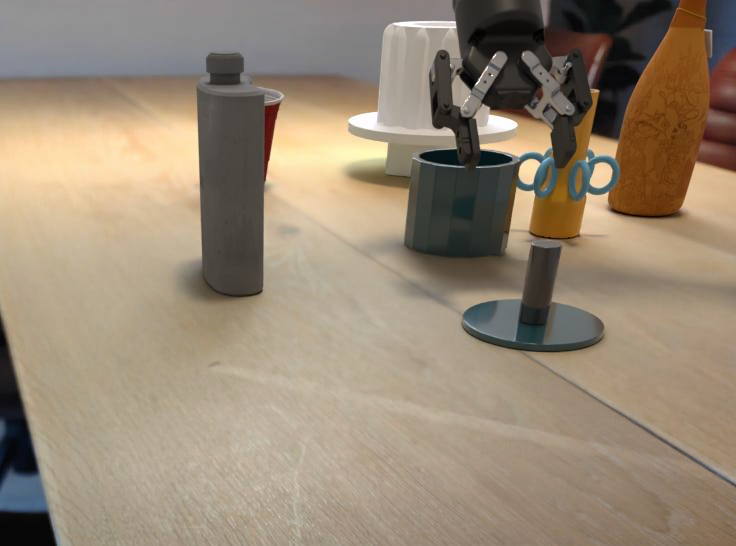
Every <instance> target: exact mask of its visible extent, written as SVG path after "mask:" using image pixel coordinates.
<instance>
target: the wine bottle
mask: <svg viewBox="0 0 736 546" xmlns="http://www.w3.org/2000/svg"><path fill="white" fill-rule="evenodd" d="M707 2H708V1H707V0H680V1H679V3H678V7H677V8H676V9H675V13H674V15H673V17H672V20H671V21H670V23H669V28H668V30H667V32H666V33H665V36H664V37H663V39H662V40H661V42H660V44H659V46H658V47H657V49H656V50H655V52H654V54H653V56H652V57H651V59H649V62H648V63H647V65H646V67H645V68H644V70H643V72H642V73H641V75H640V76H639V79H638V81H637V83H636V85H635V87H634V89H633V91H632V93H631V96H630V97H629V100H628V103H627V105H626V109H625V112H624V115H623V120H622V123H621V128H620V132H619V137H618V142H617V146H616V152H615V157H614V159H615V160H616V161H617V163H618V165H619V168H620V175H619V179H618V181H617V183H616V185H615V186H614V187H613V188H612V189H611V190H610V191H609V192H608V194H607V203H608V205H609V207H610V208H611V209H613V210H615V211H617V212H620V213H623V214H628V215H634V216H644V217H663V216H668V215H672V214H675V213H677V212H678V211H680V210H681V209H682V207H683V205H684V202H685V199H686V196H687V193H688V189H689V186H690V182H691V180H692V176H693V173H694V170H695V165H696V162H697V159H698V156H699V151H700V149H701V144H702V141H703V138H704V133H705V129H706V125H707V121H708V117H709V111H710V110H709V109H710V97H711V92H710V91H711V84H710V71H709V63H708V62H709V61H708V58H711V59H712V58H713V30H712V29H706V24H707V20H708V18H707V17H706V8H707ZM612 175H613V171H611V177H610V180H611V179H612Z"/></svg>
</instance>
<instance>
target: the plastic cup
mask: <svg viewBox="0 0 736 546" xmlns="http://www.w3.org/2000/svg"><path fill="white" fill-rule="evenodd" d="M257 87H258V88H260V89H262V90H263V91H264V92H265V120H264V186H265V185H266V181H267V174H268V169H269V162H270V160H271V154H272V153H271V152H272V147H273V140H274V135H275V128H276V121H277V119H278V115H279V114H278V113H279V110H280V106H281V104H282V102H283V100H284V99H285V95H284V94H283V93H282V92H281V91H278V90H275V89H271V88H265V87H260V86H257Z"/></svg>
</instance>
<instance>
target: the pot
mask: <svg viewBox="0 0 736 546" xmlns="http://www.w3.org/2000/svg"><path fill="white" fill-rule="evenodd" d="M480 151H481V157H480V161H479V163H478V164H477V166H476V168H475V170H474V171H466V170H465V164H461V163H460V162H459V160H458V153H457V148H437V149H429V150H423V151H419V152H416V153H414V154H412V162H411V172H410V177H409V185H408V195H407V206H406V214H405V215H406V216H405V225H404V226H405V227H404V236H403V237H404V238H403V244H404V246H406V247H407V248H408V249H410V250H411V251H415V252H418V253H422V254H424V255H429V256H437V257H444V258H460V259H462V258H463V259H469V258H470V259H471V258H483V257H484V258H485V257H489V256H490V257H496V258H497V257H498V258H501V257H502V255H503V256H504V255H505V253H506V251H507V248H508V242H509V236H510V230H511V223H512V218H513V213H514V212H513V211H514V206H515V199H516V192H517V181H518V175H519V173H520V168H521V166H520V162H521V161H520V159H519V157H520V156H518V155H515V154H512V153H510V152H506V151H501V150H495V149H489V148H488V149H486V148H480Z"/></svg>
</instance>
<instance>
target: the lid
mask: <svg viewBox="0 0 736 546" xmlns="http://www.w3.org/2000/svg"><path fill="white" fill-rule="evenodd" d="M562 251H563V243H561V242H559V241H555V240H551V239H550V240H549V239H540V240H539V239H538V240H537V239H536V240H533V241H532V242H531V243H530V248H529V253H528V261H527V265H526V271H525V277H524V282H523V288H522V294H521V298H507V299H496V300H491V301H490V300H489V301H485V302H480V303H477V304H474V305H472V306H469V308H467V309H466V310H464V312H463V314H462V318H461V324H462V327H463V328H464V330H465V331H466V332H467V333H468V334H470V335H471V336H473V337H475V338H476V339H479V340H481V341H483V342H487V343H490V344H493V345H495V346H496V345H497V346H500V347H504V348H510V349H516V350H522V351H533V352H563V351H564V352H565V351H573V350H579V349H583V348H587V347H590V346H592V345H595V344H597V343H598V342H599V341H601V340H602V338H603V336H604V334H605V328H606V327H605V323H604V322H603V320H602V319H600V318H599V317H598V316H596V315H595V314H593V313H591V312H589V311H587V310H584V309H582V308H579V307H576V306H573V305H569V304H565V303H560V302H555V301H553V297H554V291H555V288H556V287H555V286H556V281H557V276H558V271H559V266H560V260H561V255H562Z"/></svg>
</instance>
